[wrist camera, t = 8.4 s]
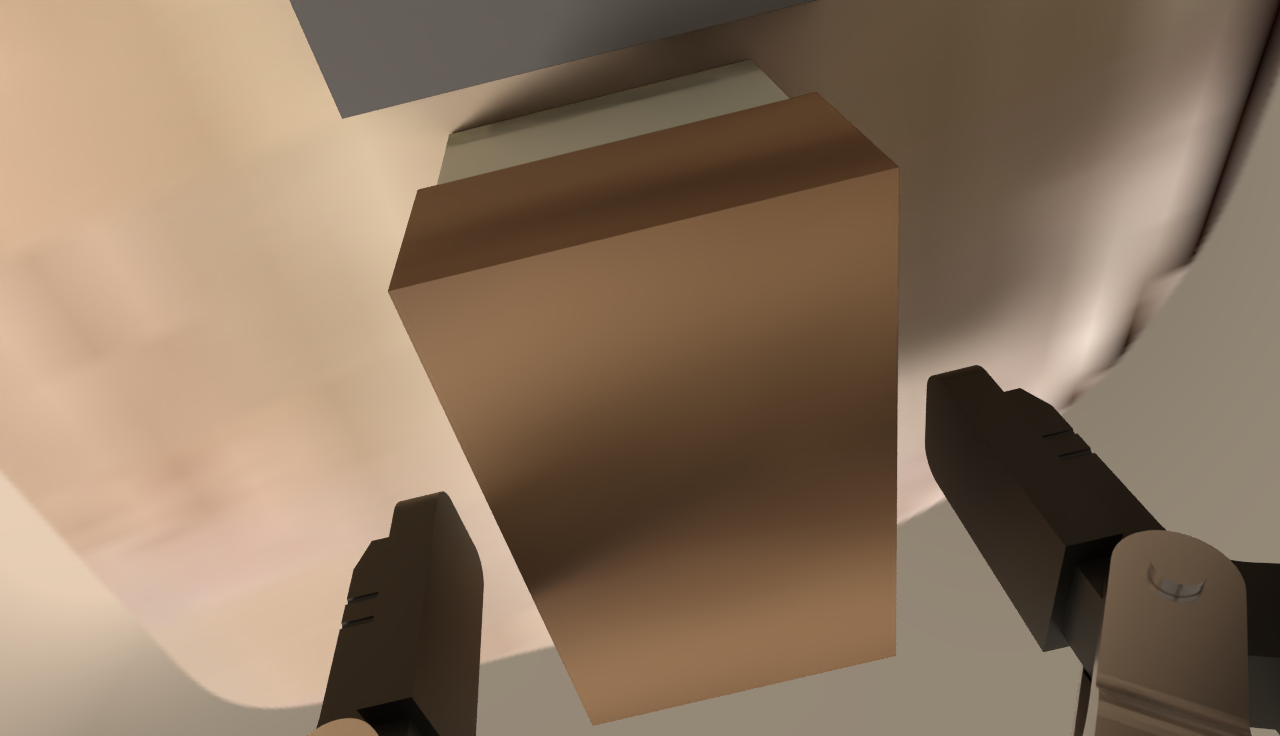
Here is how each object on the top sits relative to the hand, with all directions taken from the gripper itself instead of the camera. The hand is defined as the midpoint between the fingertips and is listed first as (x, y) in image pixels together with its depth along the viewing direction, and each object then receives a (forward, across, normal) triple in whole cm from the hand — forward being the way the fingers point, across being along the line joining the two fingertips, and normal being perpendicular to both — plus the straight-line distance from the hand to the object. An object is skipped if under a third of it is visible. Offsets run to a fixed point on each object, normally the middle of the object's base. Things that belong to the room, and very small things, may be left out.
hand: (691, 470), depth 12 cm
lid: (+2, 0, 0) cm, 2 cm away
